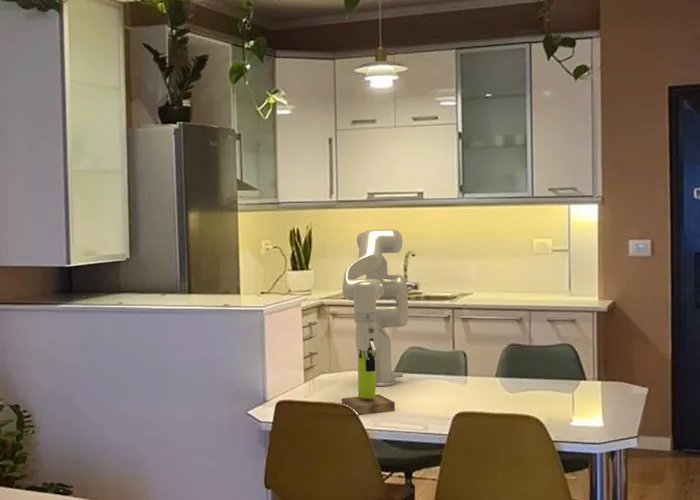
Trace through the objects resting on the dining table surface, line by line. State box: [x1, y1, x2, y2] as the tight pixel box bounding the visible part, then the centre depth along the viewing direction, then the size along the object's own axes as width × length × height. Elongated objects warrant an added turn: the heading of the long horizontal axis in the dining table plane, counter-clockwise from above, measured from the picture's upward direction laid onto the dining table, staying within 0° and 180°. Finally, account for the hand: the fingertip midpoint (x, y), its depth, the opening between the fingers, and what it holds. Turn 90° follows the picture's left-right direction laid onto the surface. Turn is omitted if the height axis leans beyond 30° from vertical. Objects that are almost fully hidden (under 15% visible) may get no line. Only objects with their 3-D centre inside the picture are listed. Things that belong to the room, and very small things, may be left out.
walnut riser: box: [341, 394, 396, 416], centre depth 309 cm, size 14×14×3 cm
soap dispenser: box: [357, 349, 376, 398], centre depth 308 cm, size 6×7×20 cm
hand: (366, 369), depth 308 cm, fingers closed on soap dispenser, 6 cm apart
